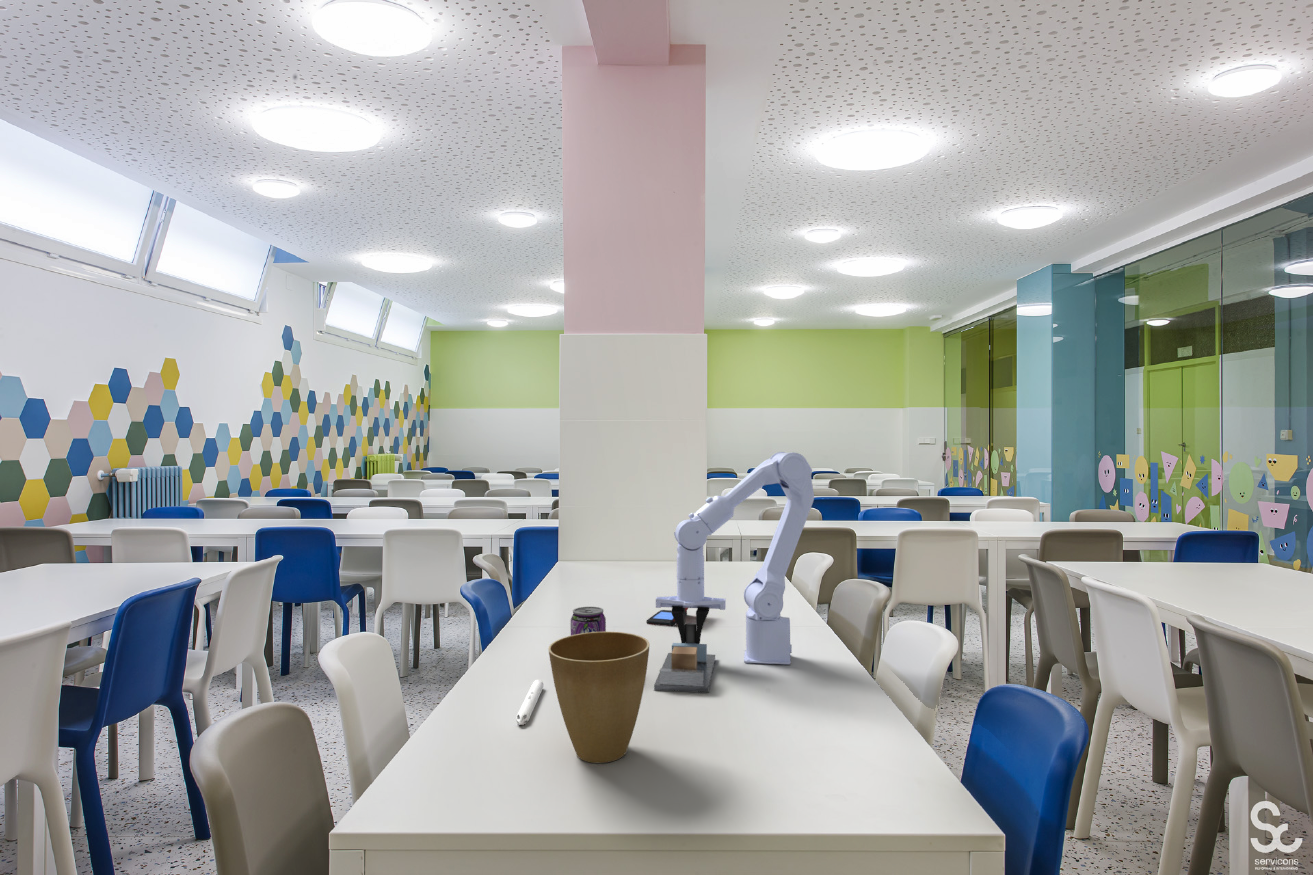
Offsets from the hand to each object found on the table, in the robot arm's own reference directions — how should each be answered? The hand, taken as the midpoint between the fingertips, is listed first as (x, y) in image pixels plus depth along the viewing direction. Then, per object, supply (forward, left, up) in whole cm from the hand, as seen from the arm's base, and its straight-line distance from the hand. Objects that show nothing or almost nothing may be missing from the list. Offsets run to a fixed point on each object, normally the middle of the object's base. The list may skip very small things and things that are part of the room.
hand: (690, 642), depth 147 cm
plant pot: (+9, +45, -4) cm, 46 cm away
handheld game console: (+8, -34, -4) cm, 35 cm away
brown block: (0, +13, -3) cm, 13 cm away
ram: (0, +2, -3) cm, 3 cm away
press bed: (0, +8, -4) cm, 9 cm away
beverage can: (+20, +8, -4) cm, 22 cm away
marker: (+25, +29, -4) cm, 39 cm away
